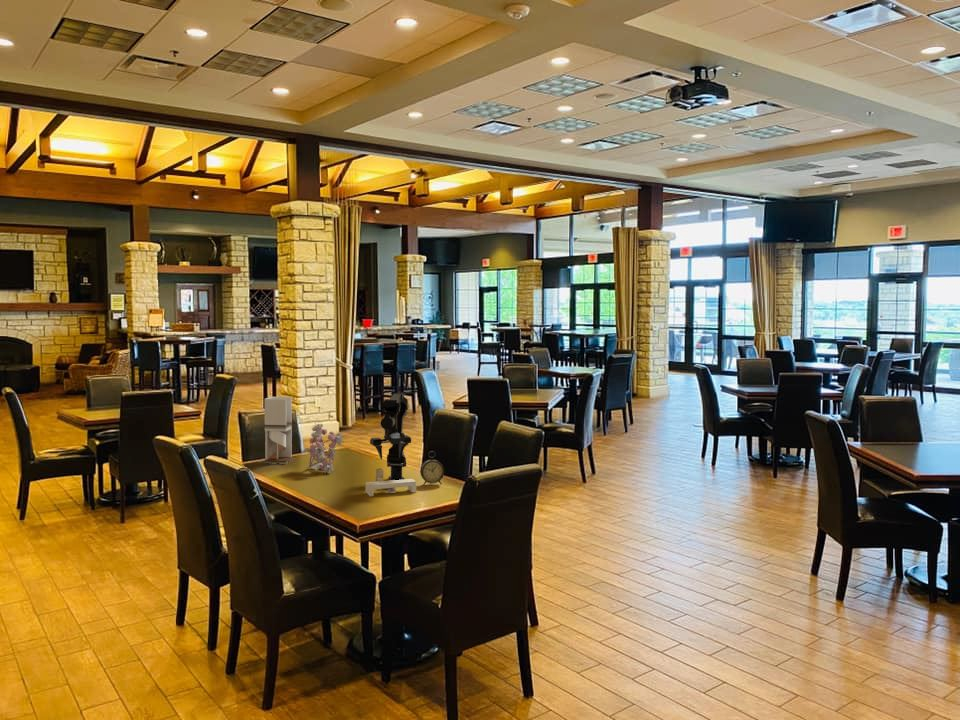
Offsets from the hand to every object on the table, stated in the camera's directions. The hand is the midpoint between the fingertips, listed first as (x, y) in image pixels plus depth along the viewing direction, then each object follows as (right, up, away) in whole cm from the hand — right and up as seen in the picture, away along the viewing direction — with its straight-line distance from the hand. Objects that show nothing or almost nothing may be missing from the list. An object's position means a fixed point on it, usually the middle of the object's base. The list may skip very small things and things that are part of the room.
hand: (390, 458), depth 351 cm
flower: (-38, -11, +30) cm, 50 cm away
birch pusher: (-4, -13, 0) cm, 14 cm away
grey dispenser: (-67, -9, +51) cm, 85 cm away
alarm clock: (+19, -13, +5) cm, 24 cm away
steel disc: (+2, -14, -12) cm, 19 cm away
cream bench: (+2, -14, -12) cm, 19 cm away
